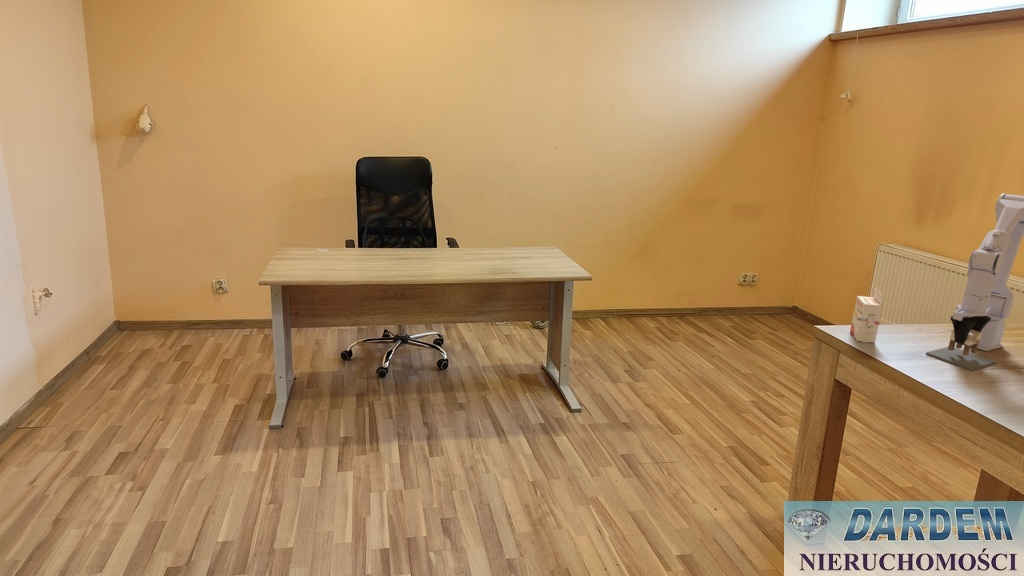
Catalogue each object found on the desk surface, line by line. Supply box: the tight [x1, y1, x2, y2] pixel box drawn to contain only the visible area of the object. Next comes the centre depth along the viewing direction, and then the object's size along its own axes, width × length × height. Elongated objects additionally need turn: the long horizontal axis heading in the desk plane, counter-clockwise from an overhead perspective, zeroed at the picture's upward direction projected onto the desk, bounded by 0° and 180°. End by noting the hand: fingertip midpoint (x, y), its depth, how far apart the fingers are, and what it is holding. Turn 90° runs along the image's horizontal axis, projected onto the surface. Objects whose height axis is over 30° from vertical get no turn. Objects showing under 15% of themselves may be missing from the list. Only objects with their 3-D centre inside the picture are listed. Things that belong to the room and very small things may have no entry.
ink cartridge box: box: [849, 287, 884, 344], centre depth 190 cm, size 9×5×15 cm, turn 169°
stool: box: [947, 328, 982, 356], centre depth 177 cm, size 5×5×6 cm
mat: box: [925, 346, 997, 371], centre depth 178 cm, size 12×12×1 cm
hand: (964, 341), depth 177 cm, fingers closed on stool, 5 cm apart
